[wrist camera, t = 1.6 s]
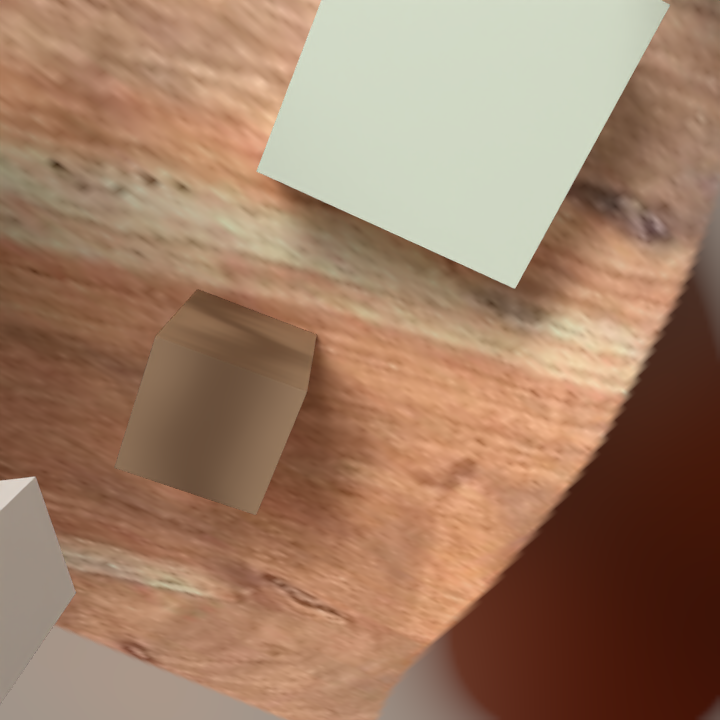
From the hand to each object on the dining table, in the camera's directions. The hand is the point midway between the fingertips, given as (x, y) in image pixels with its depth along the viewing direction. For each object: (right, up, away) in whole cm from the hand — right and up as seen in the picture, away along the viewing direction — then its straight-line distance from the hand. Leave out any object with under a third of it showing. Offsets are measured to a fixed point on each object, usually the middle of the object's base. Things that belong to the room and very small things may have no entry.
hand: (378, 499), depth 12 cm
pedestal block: (+3, +14, +16) cm, 21 cm away
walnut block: (-6, +2, +20) cm, 21 cm away
